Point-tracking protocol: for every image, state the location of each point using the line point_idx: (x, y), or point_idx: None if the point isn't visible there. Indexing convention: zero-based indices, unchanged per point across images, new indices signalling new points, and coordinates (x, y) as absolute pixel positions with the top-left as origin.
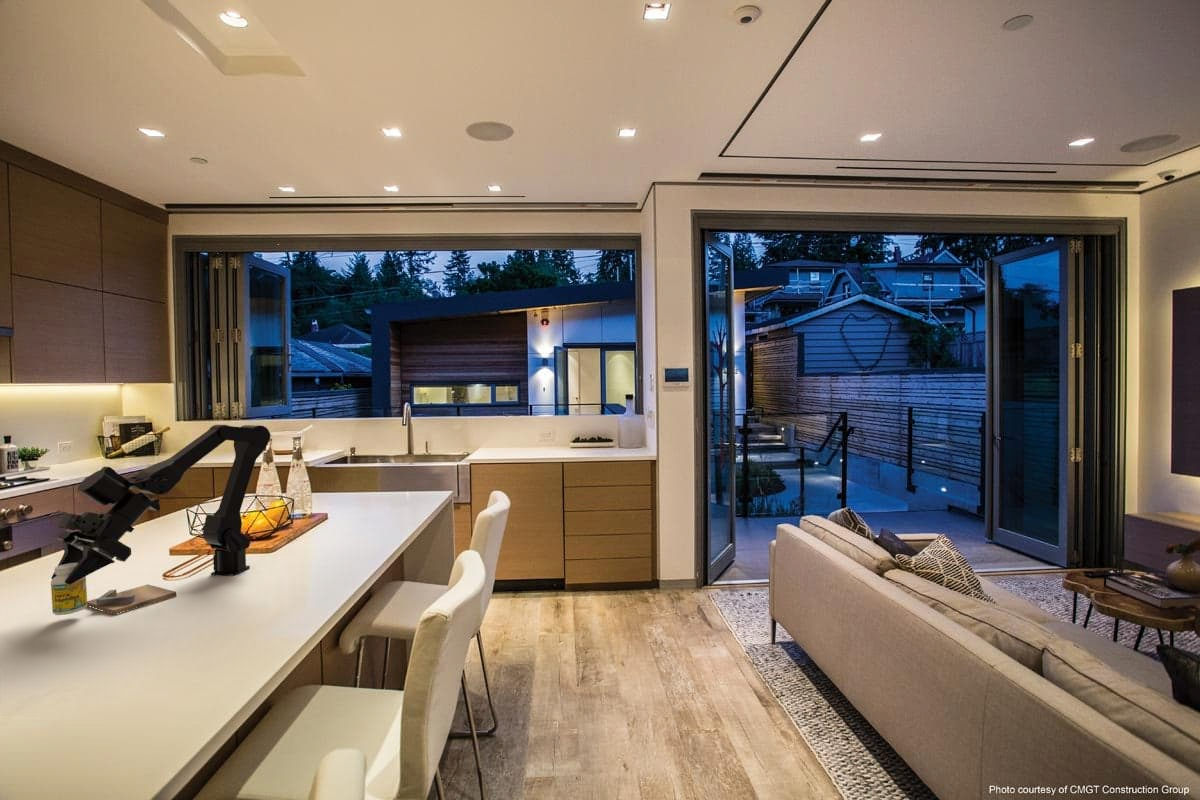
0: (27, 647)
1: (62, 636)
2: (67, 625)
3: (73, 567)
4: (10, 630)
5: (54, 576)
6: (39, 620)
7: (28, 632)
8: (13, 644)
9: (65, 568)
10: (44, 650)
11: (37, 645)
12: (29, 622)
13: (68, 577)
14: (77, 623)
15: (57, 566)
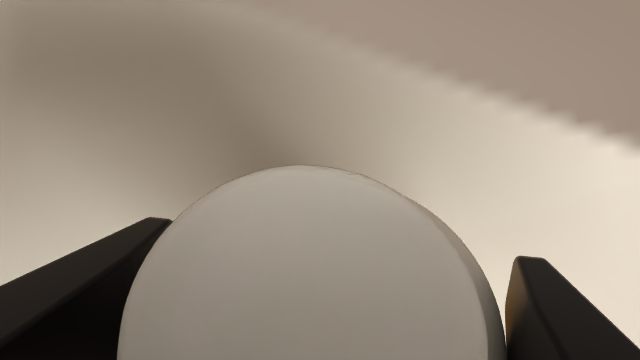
0: (135, 32)
1: (103, 168)
2: None
3: (122, 334)
4: (521, 111)
5: (518, 279)
6: (555, 268)
7: (369, 133)
8: (250, 24)
9: (168, 234)
10: (13, 45)
11: (111, 61)
12: (577, 224)
13: (117, 237)
14: None
15: (428, 245)
